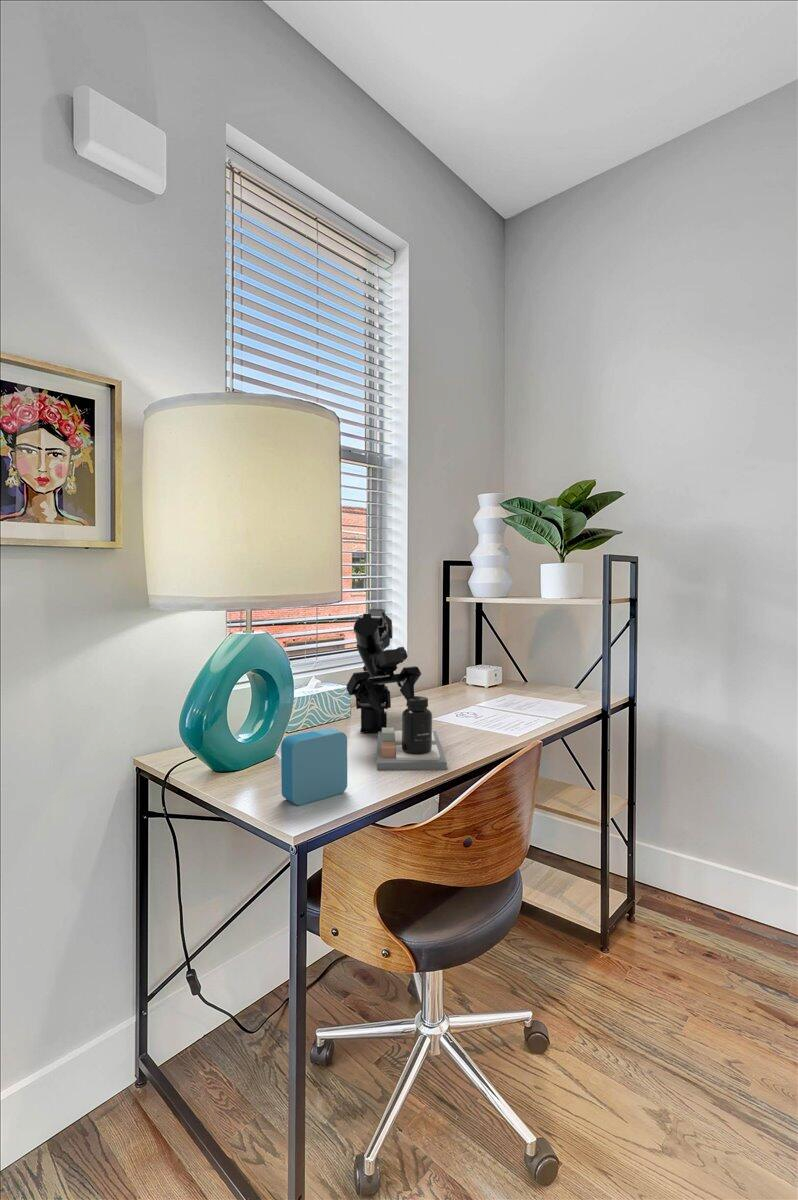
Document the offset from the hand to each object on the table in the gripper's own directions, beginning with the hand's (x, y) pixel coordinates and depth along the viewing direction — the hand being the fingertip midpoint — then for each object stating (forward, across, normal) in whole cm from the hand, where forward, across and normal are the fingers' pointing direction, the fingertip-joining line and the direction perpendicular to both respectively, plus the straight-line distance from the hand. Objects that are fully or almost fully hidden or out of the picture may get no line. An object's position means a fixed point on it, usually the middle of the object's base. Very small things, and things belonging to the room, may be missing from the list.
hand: (398, 708), depth 143 cm
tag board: (+8, +2, +6) cm, 11 cm away
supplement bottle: (+11, 0, 0) cm, 11 cm away
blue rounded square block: (+18, -29, -4) cm, 34 cm away
